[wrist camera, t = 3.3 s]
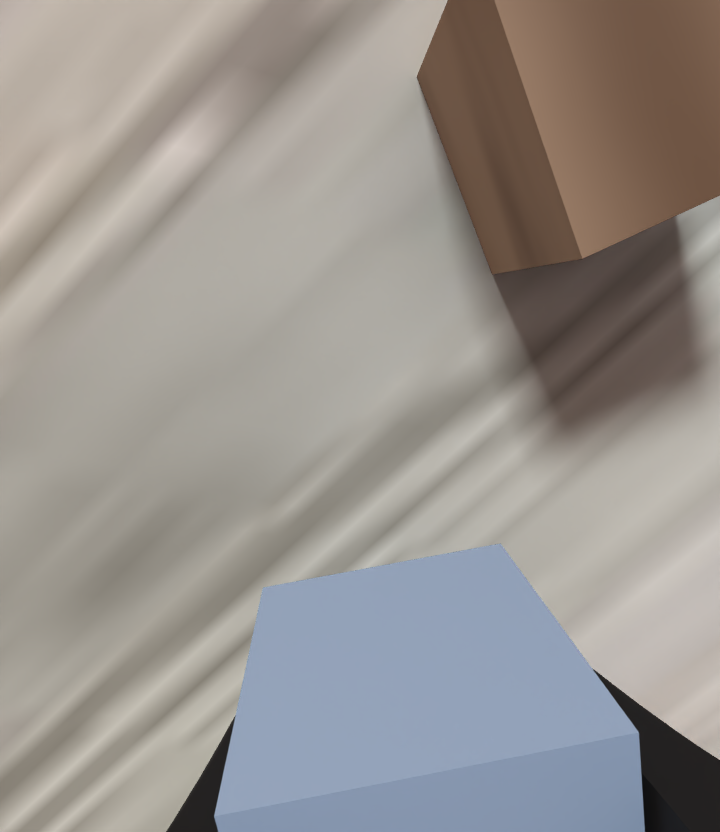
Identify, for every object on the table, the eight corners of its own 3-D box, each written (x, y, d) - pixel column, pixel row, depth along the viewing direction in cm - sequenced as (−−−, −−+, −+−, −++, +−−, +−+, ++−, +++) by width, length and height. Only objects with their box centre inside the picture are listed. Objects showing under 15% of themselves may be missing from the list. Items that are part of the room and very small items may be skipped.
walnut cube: (608, -15, 13) (787, -214, 8) (669, 192, 14) (860, 130, 9) (416, 77, 13) (473, -62, 8) (491, 274, 14) (582, 258, 9)
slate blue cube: (500, 543, 11) (639, 732, 6) (524, 742, 12) (656, 1036, 7) (262, 587, 11) (213, 815, 6) (308, 785, 12) (296, 1114, 7)
